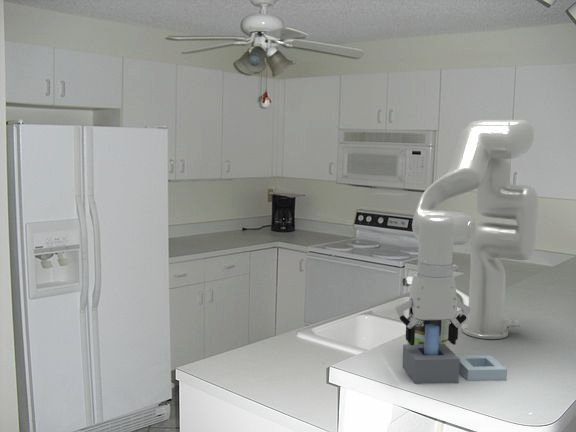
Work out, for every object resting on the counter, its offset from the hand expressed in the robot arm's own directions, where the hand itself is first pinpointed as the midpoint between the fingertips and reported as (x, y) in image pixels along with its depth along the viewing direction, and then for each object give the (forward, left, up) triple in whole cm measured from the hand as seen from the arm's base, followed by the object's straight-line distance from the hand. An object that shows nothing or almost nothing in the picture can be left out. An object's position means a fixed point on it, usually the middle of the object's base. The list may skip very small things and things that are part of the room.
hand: (431, 343), depth 138 cm
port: (0, 0, -8) cm, 8 cm away
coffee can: (-3, -11, -8) cm, 14 cm away
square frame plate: (-12, 0, -8) cm, 14 cm away
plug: (0, 0, -8) cm, 8 cm away
